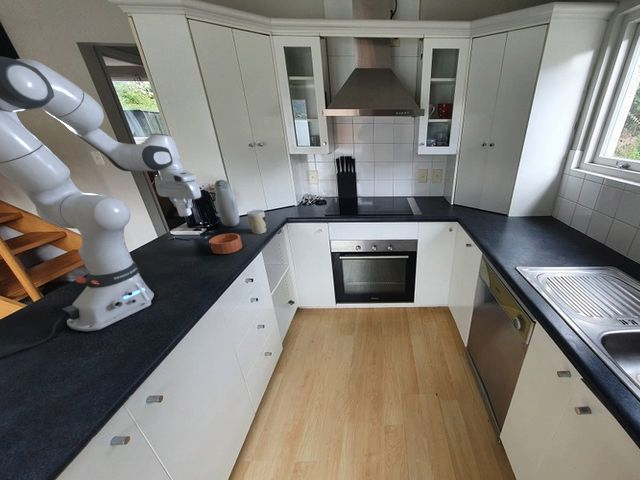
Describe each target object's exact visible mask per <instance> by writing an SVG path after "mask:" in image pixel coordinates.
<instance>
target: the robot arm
mask: <svg viewBox="0 0 640 480" xmlns="http://www.w3.org/2000/svg"><path fill="white" fill-rule="evenodd" d="M37 109H41V110H42V111H44V112H45V113H47V114H48V115H50V116H51V117H53V118H55V119H56V120H58V121H59V122H60V123H62V124H63V125H64V126H65V127H66V128H67V129H68V130H69V131H70V132H71V133H72V134H74V135H75V136H77V137H78V138H80V139H81V140H83V141H84V142H85V143H86V144H88V145H90V146H91V147H92V148H93V149H95V150H96V151H98V152H99V153H101V154H102V155H103V156H104V157H106V158H107V160H108V161H109V162H110V163H111V164H112V165H113V166H114V167H115V168H116V169H119V170H121V171H124V172H136V171H137V172H140V171H141V172H157V171H158V174H156V175H155V176H154V186H155V189H156V193H157V195H158V196H159V197H163V198H168V199H169V200H170V202H171V203H172V204H173V207H174V208H177V207H176V204H175V203H176V202H177V199H176V198H184V199H185V201H186V204H185V206H186V208H190V209H192V207H193V206H192V202H193V200H198V199H200V198H201V197H202V192H201V189H200V185H199V183H198V182H197V181H196V180H197V176H196V174H194V173H192V172H190V171H187V170H185V168H184V166H183V164H182V161H181V155H180V151H179V149H178V146H177V144H176V141H175V140H174V139H173V137H172V136H170V135H169V134H164V133H149V134H148V135H147V138H146V139H145V140H144V141H142V142H141V143H137V144H136V143H124V142H119V141H117V140H115V139H113V138H112V137H111V136H110V135H108V134H107V132H104V131H103V130H102V129H101V128H100V127H101V126H102V124H103V122H104V118H105V114H104V110H103V108H102V106H101V105H100V103H98V101H97V100H95V98H93V97H92V96H91V95H90V94H88V92H86V91H84V90H83V89H82V88H80V87H79V86H78V85H77V84H75V83H74V82H72V81H71V80H70V79H68V78H67V77H65V76H63V75H62V74H60V73H58V72H57V71H56V70H53V69H52V68H51V67H49V66H47V65H45V64H44V63H42V62H40V61H38V60H35V59H32V58H25V57H22V58H16V59H14V58H10V57H5V56H0V175H2V176H3V177H4V178H5V179H7V180H8V181H10V182H11V183H12V184H13V185H15V187H17V188H18V189H19V190H20V191H21V192H22V193H23V194H24V195H25V196H26V197H27V198H28V199H29V200H30V201H31V203H32V204H33V205H34V206H35V212H36V213H37V215H38V216H39V217H40V218H41V219H42V220H43V221H45V222H47V223H49V224H52V225H54V226H58V227H61V228H65V229H74V230H77V231H78V232H79V233H80V237H81V245H80V246H79V248H78V251H77V252H78V255H79V257H80V259H81V261H82V262H83V265H85V268H86V270H87V272H88V273H87V275H86V276H77V277H76V278H75V282H76V283H77V284H78V283H79V284H86V287H85V288H84V290H83V291H82V292H81V293H80V294H79V295H78V297H77V298H76V299H75V300H74V302H72V304H70V305H68V306H65V307H63V308H61V310H62V312H63V313H64V314H62V315H61V316H60V317H59V318H57V319H56V320H55V321H54V322H53V323H52V325H51V326H50V332H49V334H48V335H47V336H46V337H45V338H43V339H41V340H38V341H36V342H33V343H30V344H27V345H23V346H20V347H18V348H15V349H12V350H10V351H7V352H4V353H1V354H0V359H2V358H6V357H8V356H10V355H13V354H17V353H18V352H21V351H25V350H27V349H31V348H34V347H37V346H39V345H41V344H42V343H45V342H47V341H49V340H51V339H52V338H53V337H54V336H55V334H56V330H57V329H56V328H57V326H58V325H59V324H60V323H61V322H62V321H63V320H65V319H66V318H68V319H67V320H66V324H67V326H68V327H69V328H70V329H72V330H75V331H78V332H79V331H80V332H94V331H95V332H96V331H100V330H102V329H104V328H107V327H108V326H110V325H112V324H114V323H117V322H119V321H120V320H123V319H125V318H127V317H129V316H130V315H133V314H135V313H138V312H140V311H141V310H143V309H146V308H148V307H150V306H151V305H152V300H153V298H154V295H155V293H154V292H153V291H152V290H151V289H150V288H149V286H148V285H147V283H146V282H145V280H144V279H143V277H142V276H141V272H140V269H139V267H138V265H137V263H136V262H135V260H133V258H132V256H131V254H130V251H129V249H128V246H127V244H126V240H125V227H126V226H127V225H128V223H129V222H130V221H131V211H130V208H129V207H128V205H127V204H126V203H124V202H123V201H122V200H120V199H117V198H115V197H113V196H112V197H111V196H108V195H104V194H96V193H85V192H84V191H83V190H81V189H79V188H78V187H77V186H76V184H75V183H74V182H73V180H72V178H71V169H70V168H69V167H68V166H67V165H66V164H65V163H64V162H63V161H62V160H61V159H60V158H58V157H57V155H56V154H55V153H53V152H52V150H50V149H49V148H48V147H47V146H46V145H45V144H44V143H43V142H42V141H41V140H39V138H37V137H36V136H35V135H34V134H33V133H32V132H30V130H28V129H27V128H26V127H25V126H24V125H23V124H22V122H21V120H20V119H19V117H18V114H17V112H22V111H26V110H31V111H32V110H37Z"/></svg>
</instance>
